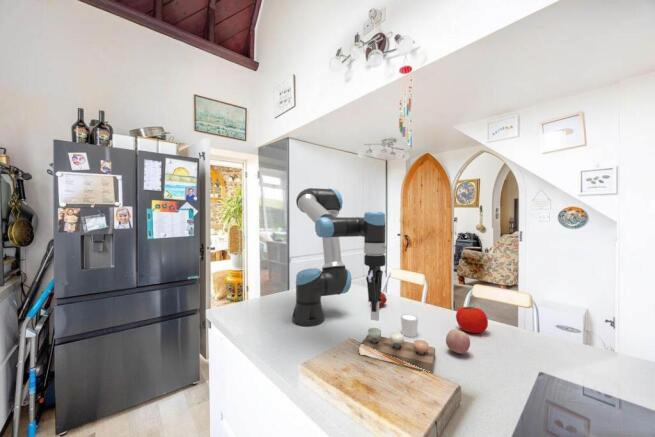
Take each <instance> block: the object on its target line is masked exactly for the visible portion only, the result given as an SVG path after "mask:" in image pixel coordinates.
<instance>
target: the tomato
mask: <svg viewBox="0 0 655 437" xmlns="http://www.w3.org/2000/svg"><path fill="white" fill-rule="evenodd" d="M455 320H456V322H457V324H458V326H459V328H460V329H462V330H464V331H466V332H468V333H472V334H478V333H479V334H481V333H483V332H485V331H487V328H488V327H489V322H488V321H489V320H488V317H487V314H486V313H485V312H484V311H483V309H481V308H479V307H476V305H474V306H461V307H460V308H458V309H457V311H456V315H455Z"/></svg>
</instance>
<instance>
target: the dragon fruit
mask: <svg viewBox="0 0 655 437" xmlns="http://www.w3.org/2000/svg"><path fill="white" fill-rule="evenodd" d="M380 299H382V300H381V301H379V308H381V307H382V308H384V305H385V304H386V303H387V302H388V300H387V296H386V294H385V293H383V292H382V291H381V298H380Z"/></svg>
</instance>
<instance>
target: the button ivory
mask: <svg viewBox="0 0 655 437" xmlns="http://www.w3.org/2000/svg"><path fill="white" fill-rule="evenodd" d="M404 337H405V336H404V335H403V334H402V333H401V332H398V331H394V332H390V333H389V338H390V340H391V341H392V342H394V348H395V349H400V343H403V342H404V341H405V338H404Z"/></svg>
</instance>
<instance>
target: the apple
mask: <svg viewBox="0 0 655 437" xmlns="http://www.w3.org/2000/svg"><path fill="white" fill-rule="evenodd" d="M445 344H446V346H447V348H448V349H449V350H450V351H453V352H454V353H456V354H460V355H464V354H466V353H467V352H468V351H469V348H470V347H471V340H470V337H469V335H468V334H467V333H466V332H464V331H462V330H460V329H451V330H449V331H448V333H447V334H446V338H445Z"/></svg>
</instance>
